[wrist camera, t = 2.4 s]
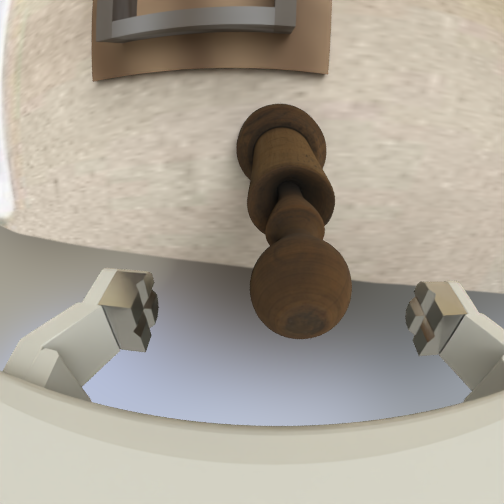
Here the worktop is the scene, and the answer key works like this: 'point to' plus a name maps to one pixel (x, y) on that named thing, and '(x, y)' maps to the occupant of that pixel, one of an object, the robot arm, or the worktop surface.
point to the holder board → (209, 35)
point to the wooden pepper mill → (292, 223)
